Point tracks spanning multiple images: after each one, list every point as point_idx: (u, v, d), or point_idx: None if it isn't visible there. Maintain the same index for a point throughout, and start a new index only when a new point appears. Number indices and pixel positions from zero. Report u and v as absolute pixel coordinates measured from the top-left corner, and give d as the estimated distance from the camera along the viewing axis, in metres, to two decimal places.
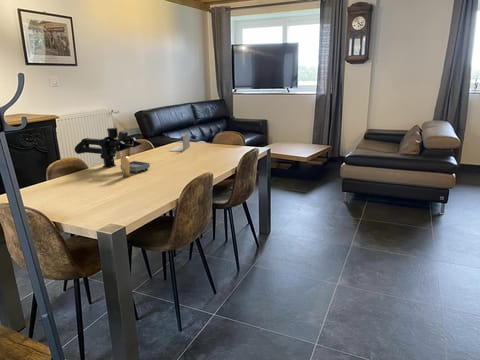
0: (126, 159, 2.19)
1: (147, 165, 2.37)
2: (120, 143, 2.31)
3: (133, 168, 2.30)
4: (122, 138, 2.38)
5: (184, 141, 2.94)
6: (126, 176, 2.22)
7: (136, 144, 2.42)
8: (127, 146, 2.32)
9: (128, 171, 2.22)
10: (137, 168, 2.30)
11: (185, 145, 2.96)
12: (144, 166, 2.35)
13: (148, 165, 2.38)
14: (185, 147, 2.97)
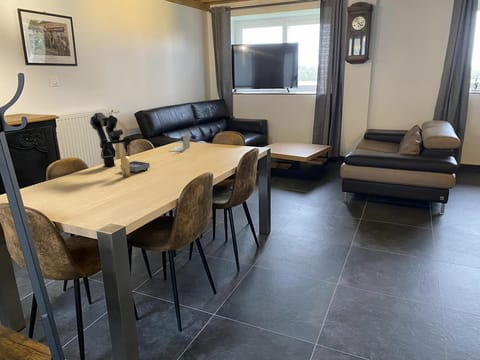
0: (126, 159, 2.19)
1: (147, 165, 2.37)
2: (105, 144, 2.23)
3: (133, 168, 2.30)
4: (113, 136, 2.26)
5: (184, 141, 2.94)
6: (126, 176, 2.22)
7: (125, 147, 2.31)
8: (109, 150, 2.25)
9: (128, 171, 2.22)
10: (137, 168, 2.30)
11: (185, 145, 2.96)
12: (144, 166, 2.35)
13: (148, 165, 2.38)
14: (185, 147, 2.97)
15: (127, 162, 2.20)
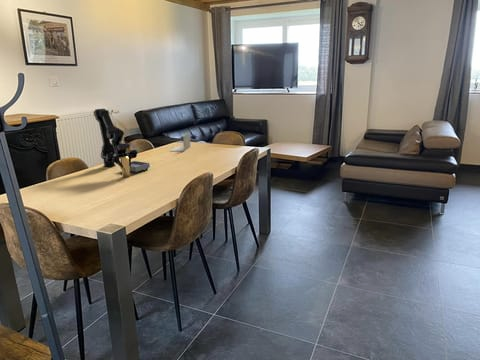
0: (126, 159, 2.19)
1: (147, 165, 2.37)
2: (114, 157, 2.19)
3: (133, 168, 2.30)
4: (119, 150, 2.21)
5: (184, 141, 2.94)
6: (126, 176, 2.22)
7: None
8: (119, 164, 2.20)
9: (128, 171, 2.22)
10: (137, 168, 2.30)
11: (185, 145, 2.96)
12: (144, 166, 2.35)
13: (148, 165, 2.38)
14: (185, 147, 2.97)
15: (127, 162, 2.20)
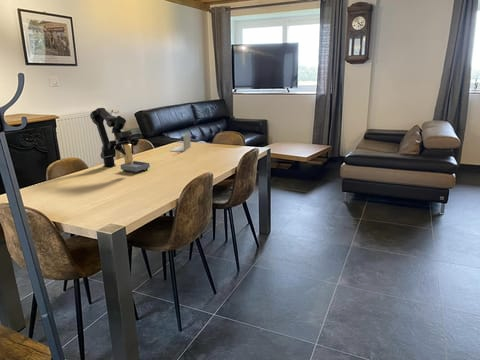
0: (129, 146, 2.22)
1: (147, 165, 2.37)
2: (117, 145, 2.21)
3: (133, 168, 2.30)
4: (122, 137, 2.23)
5: (185, 141, 2.94)
6: (129, 163, 2.24)
7: None
8: (121, 151, 2.22)
9: (131, 158, 2.24)
10: (137, 168, 2.30)
11: (185, 145, 2.96)
12: (144, 166, 2.35)
13: (148, 165, 2.38)
14: (186, 147, 2.97)
15: (130, 149, 2.23)
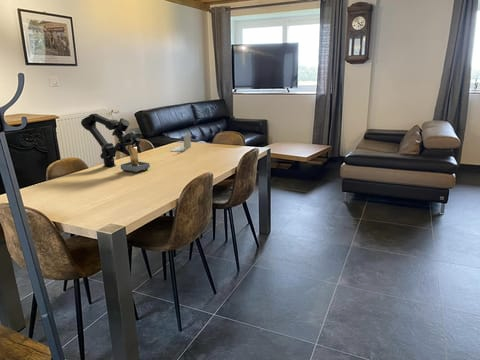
0: (136, 149, 2.33)
1: (147, 165, 2.37)
2: (122, 146, 2.28)
3: (133, 168, 2.30)
4: (127, 139, 2.33)
5: (185, 141, 2.94)
6: (136, 165, 2.35)
7: None
8: (126, 152, 2.30)
9: (137, 160, 2.36)
10: (137, 168, 2.30)
11: (186, 145, 2.96)
12: (144, 166, 2.35)
13: (148, 165, 2.38)
14: (186, 147, 2.97)
15: (136, 152, 2.34)
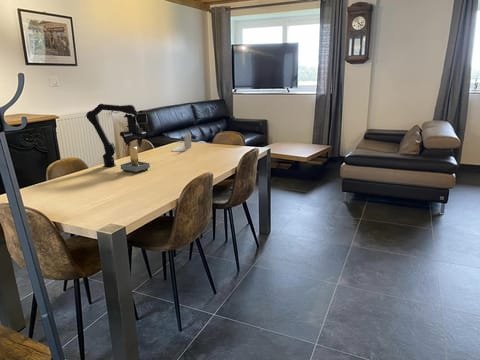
0: (136, 149, 2.33)
1: (147, 165, 2.37)
2: (143, 137, 2.47)
3: (133, 168, 2.30)
4: None
5: (185, 141, 2.94)
6: (136, 165, 2.35)
7: (127, 140, 2.50)
8: (140, 143, 2.47)
9: (137, 160, 2.36)
10: (137, 168, 2.30)
11: (186, 145, 2.96)
12: (144, 166, 2.35)
13: (148, 165, 2.38)
14: (186, 147, 2.97)
15: (136, 152, 2.34)
